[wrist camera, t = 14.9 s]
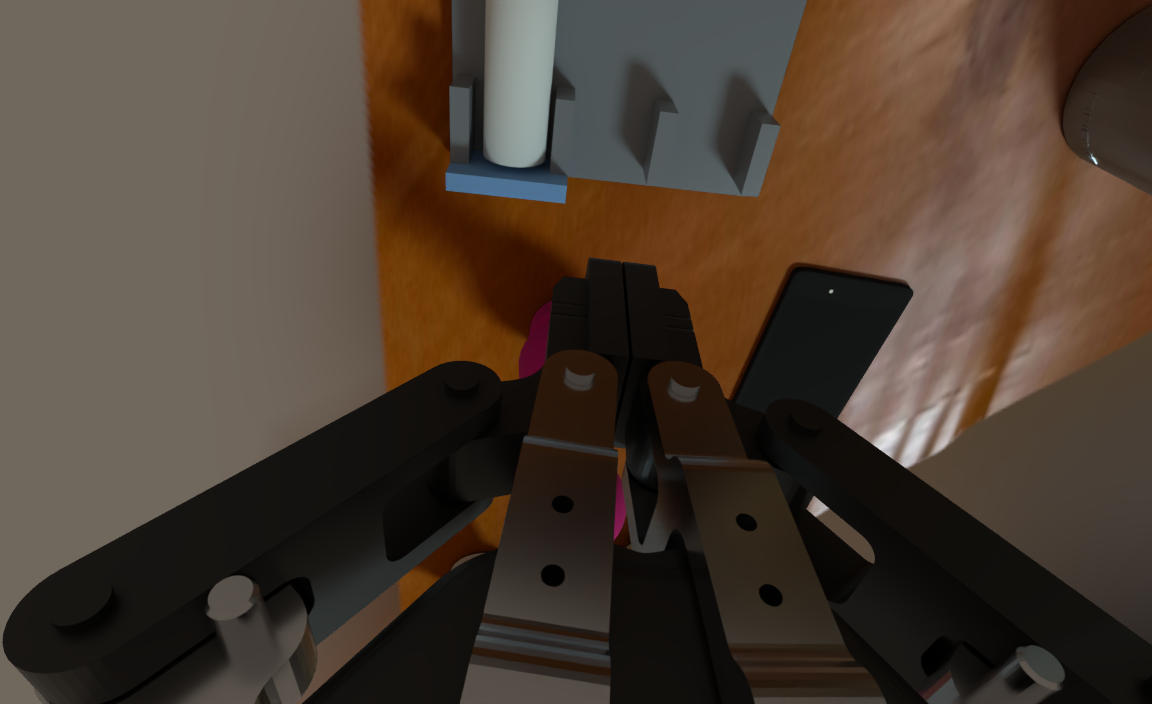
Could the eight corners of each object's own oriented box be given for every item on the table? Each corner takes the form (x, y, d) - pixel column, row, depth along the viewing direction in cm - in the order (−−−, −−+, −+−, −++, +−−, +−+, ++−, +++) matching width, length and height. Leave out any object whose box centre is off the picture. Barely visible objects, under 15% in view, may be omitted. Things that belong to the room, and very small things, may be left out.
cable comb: (452, -290, 25) (428, -326, 21) (866, -224, 26) (917, -246, 22) (456, 157, 36) (441, 189, 32) (744, 190, 38) (763, 224, 34)
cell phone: (710, 442, 52) (712, 450, 51) (792, 262, 41) (796, 269, 40) (806, 455, 53) (809, 463, 52) (911, 282, 42) (917, 289, 41)
